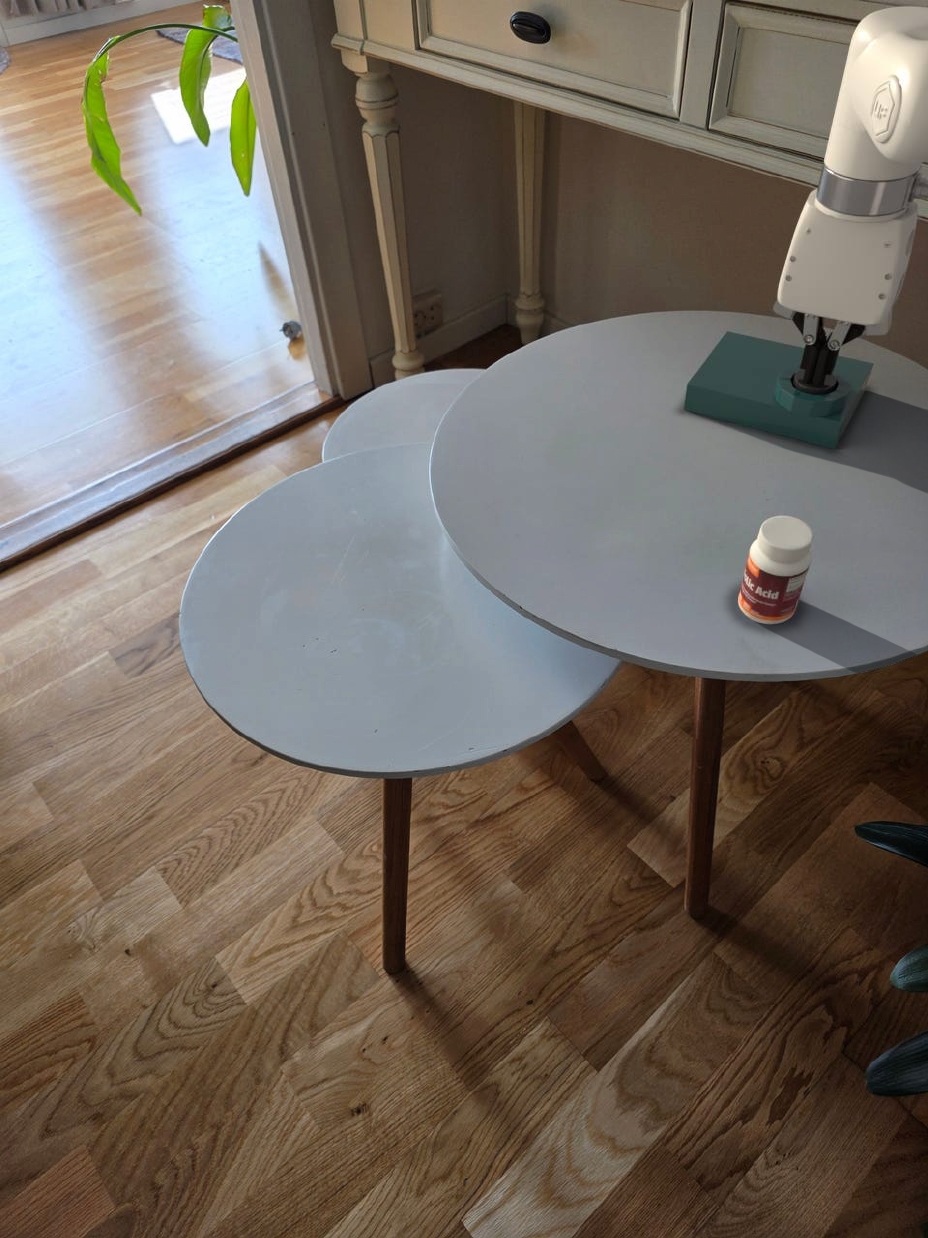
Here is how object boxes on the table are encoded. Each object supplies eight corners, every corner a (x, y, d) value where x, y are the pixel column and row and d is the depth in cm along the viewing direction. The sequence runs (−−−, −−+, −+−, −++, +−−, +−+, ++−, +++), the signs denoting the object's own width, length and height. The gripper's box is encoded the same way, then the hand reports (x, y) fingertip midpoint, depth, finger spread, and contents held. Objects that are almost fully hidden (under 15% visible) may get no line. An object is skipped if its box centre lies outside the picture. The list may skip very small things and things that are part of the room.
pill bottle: (725, 603, 74) (742, 530, 68) (762, 577, 76) (781, 503, 70) (770, 635, 72) (791, 561, 66) (807, 607, 74) (831, 533, 67)
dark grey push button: (837, 387, 88) (841, 372, 87) (825, 407, 86) (830, 392, 85) (797, 378, 90) (801, 363, 89) (785, 398, 88) (789, 382, 87)
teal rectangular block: (865, 389, 94) (878, 347, 91) (833, 451, 87) (845, 409, 84) (722, 356, 101) (729, 315, 97) (681, 412, 94) (687, 370, 90)
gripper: (969, 183, 73) (902, 376, 86) (790, 158, 78) (753, 342, 92) (950, 219, 68) (882, 415, 82) (763, 189, 74) (729, 378, 88)
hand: (814, 376), depth 87 cm, fingers closed
